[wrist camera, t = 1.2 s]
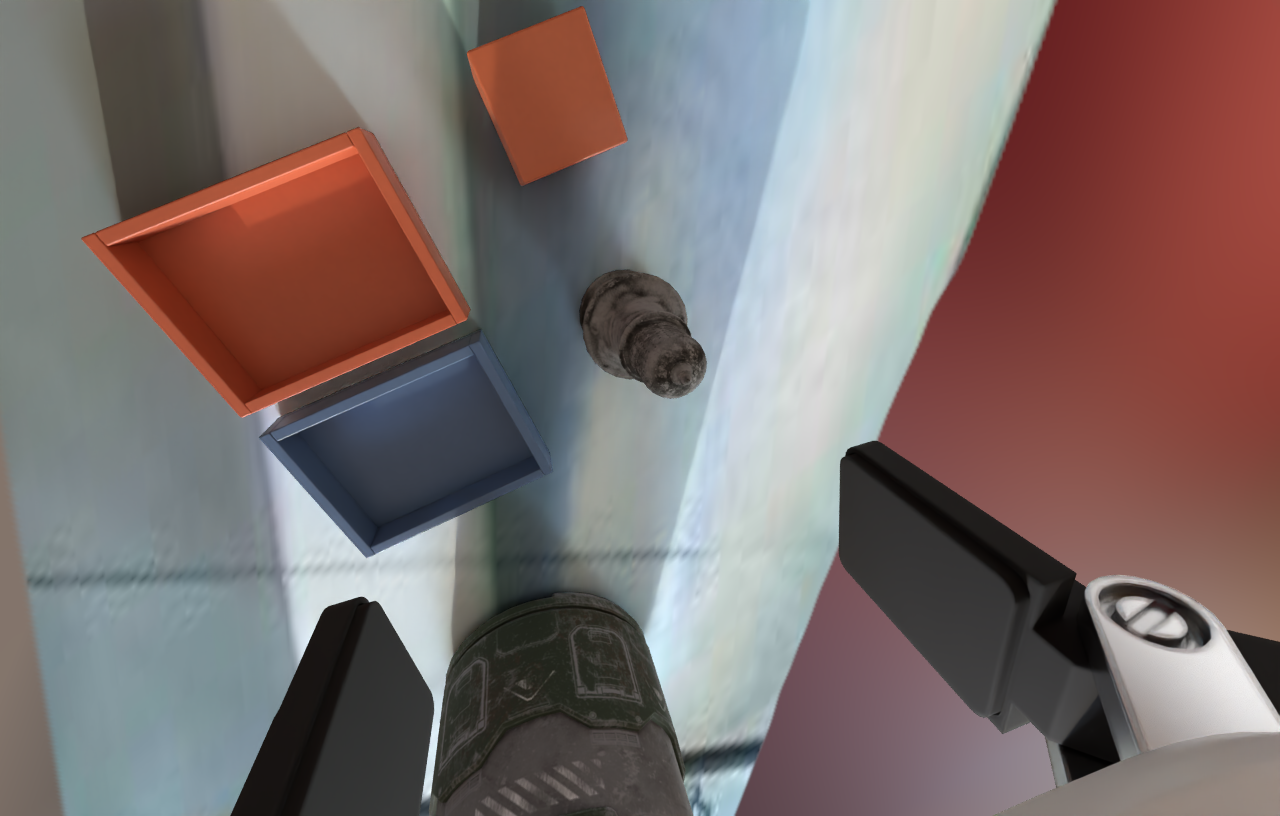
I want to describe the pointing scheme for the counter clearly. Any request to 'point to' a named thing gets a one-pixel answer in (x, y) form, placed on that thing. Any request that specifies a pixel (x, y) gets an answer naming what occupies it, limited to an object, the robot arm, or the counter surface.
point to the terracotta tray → (287, 271)
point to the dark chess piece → (641, 333)
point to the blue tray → (413, 444)
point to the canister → (557, 718)
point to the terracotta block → (548, 95)
